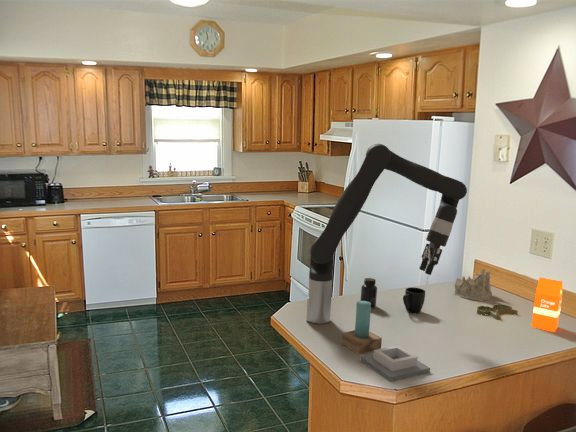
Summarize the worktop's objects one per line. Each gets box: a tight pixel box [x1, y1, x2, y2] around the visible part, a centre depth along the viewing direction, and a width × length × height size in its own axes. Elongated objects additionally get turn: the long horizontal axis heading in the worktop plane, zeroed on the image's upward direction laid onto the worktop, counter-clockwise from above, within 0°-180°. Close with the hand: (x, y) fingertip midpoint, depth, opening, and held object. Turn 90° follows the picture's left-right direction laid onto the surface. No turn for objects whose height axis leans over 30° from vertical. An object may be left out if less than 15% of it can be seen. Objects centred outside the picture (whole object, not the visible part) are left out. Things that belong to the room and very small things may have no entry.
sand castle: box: [453, 268, 493, 301], centre depth 261 cm, size 16×16×15 cm
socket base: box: [359, 345, 431, 382], centre depth 181 cm, size 16×16×4 cm
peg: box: [354, 300, 372, 338], centre depth 195 cm, size 5×5×12 cm
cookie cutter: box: [476, 303, 519, 320], centre depth 239 cm, size 18×12×2 cm, turn 123°
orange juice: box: [530, 277, 564, 333], centre depth 222 cm, size 8×9×20 cm
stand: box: [340, 329, 383, 355], centre depth 197 cm, size 10×10×4 cm
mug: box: [402, 287, 426, 315], centre depth 233 cm, size 8×12×10 cm
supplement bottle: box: [359, 277, 378, 309], centre depth 239 cm, size 7×7×12 cm
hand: (424, 272), depth 209 cm, fingers open, 8 cm apart
